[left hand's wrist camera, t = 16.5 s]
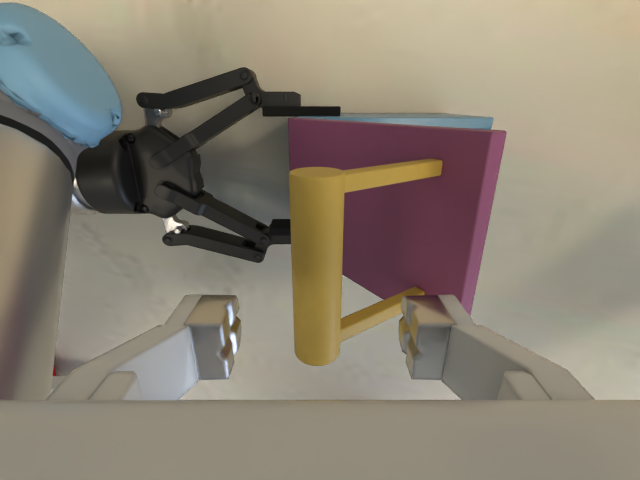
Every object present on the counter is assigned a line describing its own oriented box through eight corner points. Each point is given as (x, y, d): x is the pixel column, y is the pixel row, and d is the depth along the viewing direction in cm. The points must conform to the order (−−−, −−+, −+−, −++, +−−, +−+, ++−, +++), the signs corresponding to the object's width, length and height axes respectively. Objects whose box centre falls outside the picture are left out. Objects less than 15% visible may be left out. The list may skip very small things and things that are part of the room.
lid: (508, 130, 14) (337, 144, 9) (467, 335, 17) (332, 420, 13) (300, 117, 26) (180, 120, 21) (302, 241, 29) (201, 266, 25)
